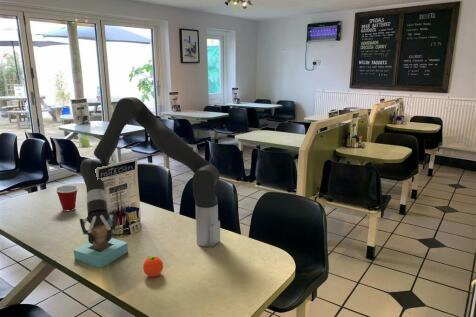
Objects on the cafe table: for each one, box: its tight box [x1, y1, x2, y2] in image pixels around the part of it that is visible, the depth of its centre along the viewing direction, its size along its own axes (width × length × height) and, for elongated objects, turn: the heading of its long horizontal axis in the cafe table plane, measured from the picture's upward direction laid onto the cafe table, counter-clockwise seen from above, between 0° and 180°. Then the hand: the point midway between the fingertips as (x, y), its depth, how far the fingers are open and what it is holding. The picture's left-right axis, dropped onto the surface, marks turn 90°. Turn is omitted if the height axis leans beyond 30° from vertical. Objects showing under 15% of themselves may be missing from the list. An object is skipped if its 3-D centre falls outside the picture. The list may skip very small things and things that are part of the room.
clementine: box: [142, 254, 164, 278], centre depth 126 cm, size 8×7×7 cm
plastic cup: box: [55, 184, 79, 211], centre depth 184 cm, size 11×11×12 cm
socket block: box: [73, 238, 129, 269], centre depth 139 cm, size 14×14×4 cm
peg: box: [91, 225, 109, 252], centre depth 138 cm, size 4×4×10 cm
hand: (100, 241), depth 137 cm, fingers closed on peg, 5 cm apart
